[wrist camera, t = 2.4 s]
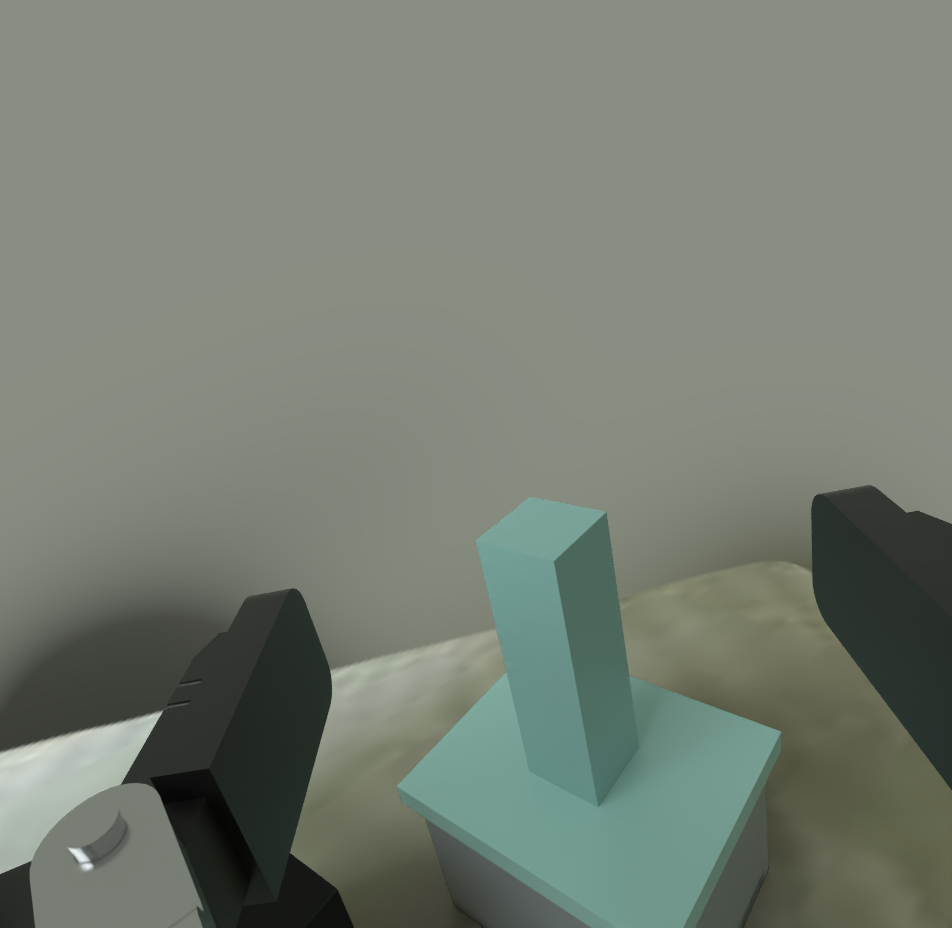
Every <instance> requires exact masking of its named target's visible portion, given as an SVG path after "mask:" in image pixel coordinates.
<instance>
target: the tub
mask: <svg viewBox="0 0 952 928" xmlns="http://www.w3.org/2000/svg"><path fill="white" fill-rule="evenodd" d="M425 820H426V823H427V826H428V829H429V832H430V835H431V838H432V841H433V844H434V847H435V850H436V853H437V856H438V859H439V862H440V865H441V868H442V871H443V874H444V877H445V880H446V883H447V886H448V889H449V892H450V895H451V898H452V901H453V904H454V906H456V907H457V908H458V909H460V910H461V911H462V912H464V913H465V914H466V915H468V916H469V917H470V918H472V919H473V920H474V921H476V922H477V923H478V924H480V925H481V926H482V927H484V928H591V927H589V926H588V925H586V924H585V923H583V922H582V921H580V920H579V919H577V918H576V917H574V916H573V915H571V914H570V913H568V912H567V911H565V910H564V909H562V908H561V907H559V906H558V905H556V904H555V903H553V902H552V901H550V900H549V899H547V898H546V897H544V896H542V895H541V894H539V893H538V892H536V891H535V890H533V889H532V888H530V887H529V886H527V885H526V884H524V883H523V882H521V881H520V880H518V879H517V878H515V877H514V876H512V875H511V874H509V873H508V872H506V871H505V870H503V869H502V868H500V867H498V866H497V865H495V864H494V863H492V862H491V861H489V860H488V859H486V858H485V857H483V856H482V855H480V854H479V853H477V852H476V851H474V850H473V849H471V848H470V847H468V846H467V845H465V844H464V843H462V842H461V841H459V840H458V839H456V838H455V837H453V836H451V835H450V834H448V833H447V832H445V831H444V830H442V829H441V828H439V827H438V826H436V825H435V824H433V823H432V822H430V821H429V820H427V819H426V818H425ZM768 869H769V864H768V836H767V809H766V783H765V785H764V787H763V789H762V792H761V794H760V796H759V798H758V800H757V802H756V804H755V806H754V808H753V810H752V812H751V814H750V816H749V818H748V820H747V822H746V824H745V826H744V828H743V830H742V833H741V835H740V837H739V839H738V841H737V843H736V845H735V847H734V849H733V851H732V853H731V855H730V857H729V859H728V861H727V863H726V865H725V867H724V869H723V871H722V874H721V876H720V878H719V880H718V882H717V884H716V886H715V888H714V890H713V892H712V894H711V896H710V898H709V900H708V902H707V904H706V906H705V908H704V910H703V912H702V915H701V917H700V919H699V921H698V923H697V925H696V927H695V928H743V926H744V924H745V921H746V919H747V917H748V915H749V912H750V910H751V908H752V905H753V903H754V901H755V899H756V896H757V894H758V892H759V889H760V887H761V885H762V883H763V880H764V878H765V876H766V873H767V871H768Z"/></svg>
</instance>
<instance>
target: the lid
mask: <svg viewBox="0 0 952 928" xmlns="http://www.w3.org/2000/svg"><path fill="white" fill-rule="evenodd" d="M476 543H477V548H478V552H479V556H480V560H481V565H482V569H483V573H484V577H485V582H486V586H487V591H488V594H489V599H490V603H491V608H492V612H493V616H494V620H495V625H496V629H497V634H498V638H499V642H500V647H501V651H502V655H503V659H504V664H505V668H506V673H505V674H504V675H503V676H502V677H501V678H500V679H499V680H498V681H497V682H496V683H495V684H494V685H493V686H492V687H491V688H490V689H489V690H488V692H487V693H486V694H485V695H484V696H483V697H482V698H481V699H480V700H479V701H478V702H477V703H476V704H475V705H474V706H473V707H472V708H471V709H470V710H469V711H468V712H467V713H466V714H465V715H464V717H463V718H462V719H461V720H460V721H459V722H458V723H457V724H456V725H455V726H454V727H453V728H452V729H451V730H450V731H449V732H448V733H447V734H446V735H445V736H444V737H443V738H442V739H441V740H440V742H439V743H438V744H437V745H436V746H435V747H434V748H433V749H432V750H431V751H430V752H429V753H428V754H427V755H426V756H425V757H424V758H423V759H422V760H421V761H420V762H419V763H418V764H417V765H416V767H415V768H414V769H413V770H412V771H411V772H410V773H409V774H408V775H407V776H406V777H405V778H404V779H403V780H402V781H401V782H400V783H399V784H398V785H397V789H398V792H399V795H400V798H401V801H402V803H403V804H404V805H406V806H407V807H409V808H411V809H412V810H414V811H415V812H417V813H418V814H420V815H421V816H423V817H424V818H426V819H427V820H429V821H430V822H432V823H433V824H435V825H436V826H438V827H439V828H441V829H442V830H444V831H445V832H447V833H448V834H450V835H451V836H453V837H455V838H456V839H458V840H459V841H461V842H462V843H464V844H465V845H467V846H468V847H470V848H471V849H473V850H474V851H476V852H477V853H479V854H480V855H482V856H483V857H485V858H486V859H488V860H489V861H491V862H492V863H494V864H495V865H497V866H498V867H500V868H502V869H503V870H505V871H506V872H508V873H509V874H511V875H512V876H514V877H515V878H517V879H518V880H520V881H521V882H523V883H524V884H526V885H527V886H529V887H530V888H532V889H533V890H535V891H536V892H538V893H539V894H541V895H542V896H544V897H546V898H547V899H549V900H550V901H552V902H553V903H555V904H556V905H558V906H559V907H561V908H562V909H564V910H565V911H567V912H568V913H570V914H571V915H573V916H574V917H576V918H577V919H579V920H580V921H582V922H583V923H585V924H586V925H588V926H589V927H591V928H695V927H696V925H697V923H698V921H699V919H700V917H701V915H702V912H703V910H704V908H705V906H706V904H707V902H708V900H709V898H710V896H711V894H712V892H713V890H714V888H715V886H716V884H717V882H718V880H719V878H720V876H721V874H722V871H723V869H724V867H725V865H726V863H727V861H728V859H729V857H730V855H731V853H732V851H733V849H734V847H735V845H736V843H737V841H738V839H739V837H740V835H741V833H742V830H743V828H744V826H745V824H746V822H747V820H748V818H749V816H750V814H751V812H752V810H753V808H754V806H755V804H756V802H757V800H758V798H759V796H760V794H761V792H762V789H763V787H764V785H765V783H766V781H767V779H768V777H769V775H770V773H771V771H772V769H773V767H774V765H775V763H776V761H777V759H778V757H779V755H780V753H781V751H782V738H781V731H778V730H776V729H773V728H770V727H767V726H765V725H762V724H759V723H756V722H754V721H751V720H748V719H746V718H743V717H740V716H737V715H735V714H732V713H729V712H726V711H724V710H721V709H718V708H716V707H713V706H710V705H707V704H705V703H702V702H699V701H696V700H694V699H691V698H688V697H686V696H683V695H680V694H677V693H675V692H672V691H669V690H666V689H664V688H661V687H658V686H656V685H653V684H650V683H647V682H645V681H642V680H639V679H636V678H634V677H631V676H629V671H628V664H627V657H626V649H625V642H624V635H623V628H622V621H621V613H620V606H619V599H618V592H617V585H616V578H615V570H614V563H613V556H612V549H611V542H610V534H609V527H608V520H607V513H606V512H604V511H599V510H594V509H589V508H584V507H579V506H574V505H569V504H563V503H558V502H554V501H549V500H544V499H539V498H534V497H530V498H529V499H527V500H526V501H525V502H524V503H522V504H521V505H520V506H519V507H517V508H516V509H515V510H514V511H512V512H511V513H510V514H509V515H507V516H506V517H505V518H503V519H502V520H501V521H500V522H498V523H497V524H496V525H495V526H493V527H492V528H491V529H490V530H488V531H487V532H486V533H485V534H483V535H482V536H481V537H480V538H478V539H477V540H476Z"/></svg>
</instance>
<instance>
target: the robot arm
mask: <svg viewBox="0 0 952 928" xmlns="http://www.w3.org/2000/svg"><path fill="white" fill-rule="evenodd" d="M811 515H812V516H811V520H812V575H813V589H814V594H815V598H816V602H817V605H818V608H819V610H820V613H821V615H822V617H823V619H824V620H825V622H826V624H827V625H828V626H829V628H830V629H831V630H832V632H833V633H834V634H835V636H836V637H837V638H838V640H839V641H840V642H841V644H842V645H843V646H844V648H845V649H846V650H847V652H848V653H849V654H850V656H851V657H852V658H853V660H854V661H855V662H856V664H857V665H858V666H859V668H860V669H861V670H862V672H863V673H864V674H865V675H866V677H867V678H868V679H869V681H870V682H871V683H872V685H873V686H874V687H875V689H876V690H877V691H878V693H879V694H880V695H881V697H882V698H883V699H884V701H885V702H886V703H887V705H888V706H889V707H890V709H891V710H892V711H893V713H894V714H895V715H896V717H897V718H898V719H899V721H900V722H901V723H902V725H903V726H904V727H905V729H906V730H907V731H908V733H909V734H910V735H911V737H912V738H913V739H914V741H915V742H916V743H917V744H918V746H919V747H920V748H921V750H922V751H923V752H924V754H925V755H926V756H927V758H928V759H929V760H930V762H931V763H932V764H933V766H934V767H935V768H936V770H937V771H938V772H939V774H940V775H941V776H942V778H943V779H944V780H945V782H946V783H947V784H948V786H949V787H950V788H951V790H952V524H950V523H948V522H945V521H943V520H940V519H937V518H935V517H932V516H929V515H927V514H925V513H922V512H920V511H914V512H909V513H906V512H905V511H904V510H903V509H901V508H900V507H899V506H898V505H896V504H895V503H894V502H893V501H892V500H890V499H889V498H888V497H887V496H886V495H884V494H883V493H882V492H881V491H879V490H878V489H876V488H875V487H874V486H871V485H870V486H869V485H867V486H862V487H856V488H851V489H845V490H839V491H834V492H828V493H823V494H818V495H816V496H815V497H814V499H813V502H812V509H811ZM331 698H332V681H331V674H330V669H329V665H328V662H327V659H326V657H325V654H324V651H323V648H322V646H321V643H320V641H319V638H318V635H317V633H316V630H315V627H314V625H313V622H312V619H311V617H310V614H309V611H308V609H307V606H306V603H305V601H304V599H303V597H302V595H301V593H300V592H299V591H298V590H297V589H287V590H281V591H276V592H270V593H265V594H260V595H254V596H250V597H248V598H247V599H245V601H244V602H243V604H242V606H241V608H240V610H239V612H238V614H237V615H236V617H235V619H234V621H233V623H232V625H231V627H230V629H229V631H228V632H223V633H219V634H218V635H217V636H216V637H215V638H214V639H213V640H212V641H211V642H210V643H209V644H208V645H207V646H205V647H204V648H203V649H202V650H201V651H200V652H199V653H198V654H197V655H196V656H195V657H194V659H193V660H192V662H191V664H190V666H189V667H188V669H187V671H186V673H185V674H184V676H183V678H182V679H181V681H180V687H179V688H176V690H175V692H174V693H173V695H172V697H171V699H170V700H169V702H168V704H167V705H168V709H165V710H164V711H163V712H162V714H161V716H160V718H159V719H158V721H157V723H156V725H155V726H154V728H153V730H152V731H151V733H150V735H149V737H148V738H147V740H146V742H145V744H144V745H143V747H142V749H141V751H140V752H139V754H138V756H137V758H136V759H135V761H134V763H133V764H132V766H131V768H130V770H129V771H128V773H127V775H126V777H125V778H124V780H123V782H122V784H121V785H119V786H116V787H112V788H109V789H107V790H105V791H102V792H100V793H98V794H96V795H94V796H93V797H91V798H89V799H87V800H86V801H84V802H83V803H81V804H80V805H78V806H77V807H76V808H74V809H73V810H72V811H70V812H69V813H68V814H67V815H66V816H65V817H63V818H62V819H61V820H60V821H59V822H58V823H57V824H56V825H55V826H54V827H53V828H52V829H51V831H50V832H49V833H48V834H47V836H46V837H45V838H44V840H43V841H42V842H41V844H40V846H39V847H38V849H37V851H36V853H35V855H34V857H33V860H32V861H31V862H28V863H26V864H23V865H21V866H19V867H16V868H14V869H11V870H9V871H7V872H4V873H2V874H0V928H236V926H237V923H238V920H239V917H240V913H241V910H242V907H243V906H248V905H256V904H263V903H270V902H276V901H277V897H278V894H279V890H280V887H281V883H282V879H283V876H284V872H285V868H286V865H287V861H288V857H289V854H290V850H291V846H292V843H293V839H294V836H295V832H296V828H297V825H298V821H299V817H300V814H301V810H302V806H303V803H304V799H305V796H306V792H307V788H308V785H309V781H310V777H311V774H312V770H313V766H314V763H315V759H316V755H317V752H318V748H319V745H320V741H321V737H322V734H323V730H324V726H325V723H326V719H327V715H328V712H329V708H330V704H331Z"/></svg>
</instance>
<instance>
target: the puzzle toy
mask: <svg viewBox="0 0 952 928" xmlns="http://www.w3.org/2000/svg"><path fill="white" fill-rule="evenodd" d="M236 928H354V927H353V924H352V922H351V920H350V917H349V915H348V913H347V910H346V908H345V906H344V903H343V901H342V899H341V897H340V894H339V892H338V890H337V889H336V888H335V887H334V886H332V885H331V884H330V883H329V882H327V881H326V880H325V879H323V878H322V877H321V876H319V875H318V874H317V873H315V872H314V871H313V870H311V869H310V868H309V867H307V866H306V865H305V864H303V863H302V862H301V861H300V860H298V859H297V858H296V857H294V856H293V855H292V854H289V857H288V861H287V865H286V868H285V872H284V876H283V879H282V883H281V887H280V890H279V894H278V897H277V901H276V902H270V903H263V904H256V905H248V906H243V907H242V910H241V913H240V917H239V920H238V923H237V926H236Z"/></svg>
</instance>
